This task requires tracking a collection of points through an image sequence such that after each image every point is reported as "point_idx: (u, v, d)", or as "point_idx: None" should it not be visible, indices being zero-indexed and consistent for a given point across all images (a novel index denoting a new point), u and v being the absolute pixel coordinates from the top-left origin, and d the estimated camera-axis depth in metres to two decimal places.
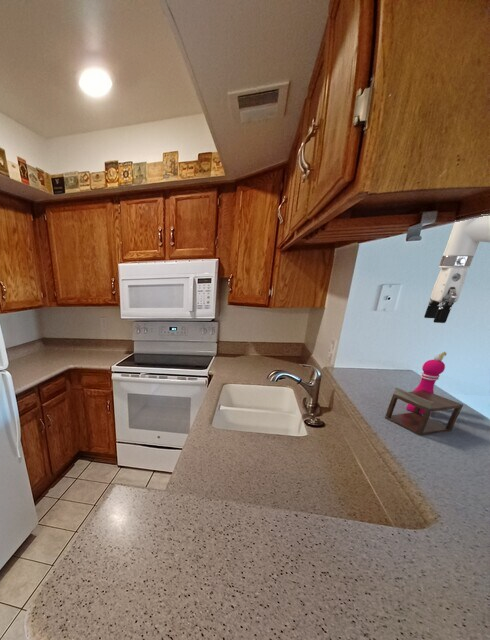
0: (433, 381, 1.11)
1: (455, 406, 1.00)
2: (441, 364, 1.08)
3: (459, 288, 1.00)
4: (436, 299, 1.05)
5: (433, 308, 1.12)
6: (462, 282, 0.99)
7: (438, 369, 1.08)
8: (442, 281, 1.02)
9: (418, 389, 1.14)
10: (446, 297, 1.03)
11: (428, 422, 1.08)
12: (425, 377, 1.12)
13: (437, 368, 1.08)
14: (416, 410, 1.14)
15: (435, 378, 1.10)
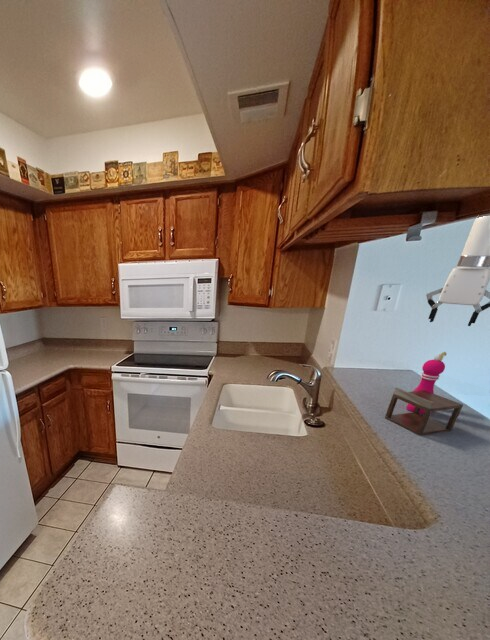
0: (433, 381, 1.11)
1: (455, 406, 1.00)
2: (441, 364, 1.08)
3: None
4: (466, 302, 0.99)
5: (436, 311, 1.05)
6: None
7: (438, 370, 1.08)
8: (476, 283, 0.96)
9: (418, 389, 1.14)
10: None
11: (428, 422, 1.08)
12: (425, 377, 1.12)
13: (437, 368, 1.08)
14: (416, 410, 1.14)
15: (435, 378, 1.10)
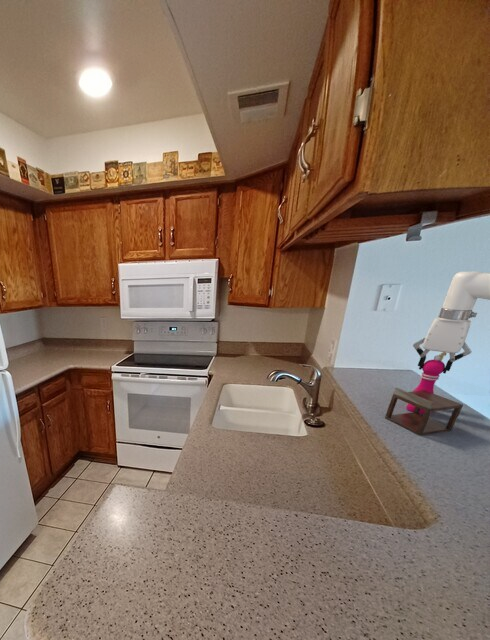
0: (433, 381, 1.11)
1: (455, 406, 1.00)
2: (441, 364, 1.08)
3: None
4: (447, 350, 1.05)
5: (425, 359, 1.12)
6: None
7: (438, 370, 1.08)
8: (456, 334, 1.02)
9: (418, 389, 1.14)
10: None
11: (428, 422, 1.08)
12: (425, 377, 1.12)
13: (437, 368, 1.08)
14: (416, 410, 1.14)
15: (435, 378, 1.10)
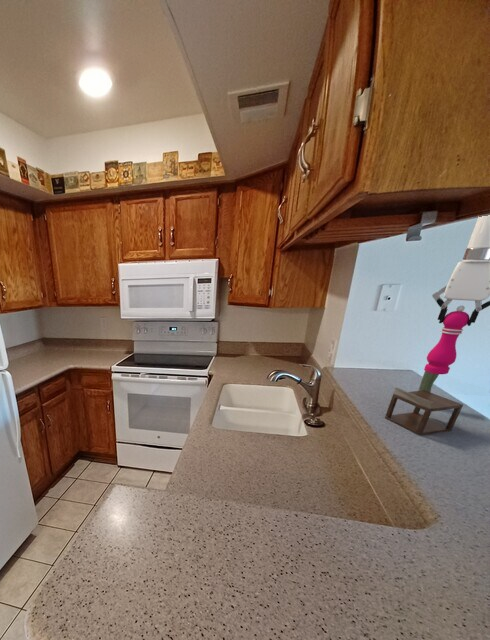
0: (455, 336, 0.98)
1: (455, 406, 1.00)
2: (465, 315, 0.95)
3: None
4: (473, 298, 0.92)
5: (446, 311, 0.99)
6: None
7: (462, 321, 0.95)
8: (483, 277, 0.89)
9: (438, 346, 1.01)
10: None
11: (428, 422, 1.08)
12: (446, 331, 0.99)
13: (460, 319, 0.95)
14: (416, 410, 1.14)
15: (458, 332, 0.97)
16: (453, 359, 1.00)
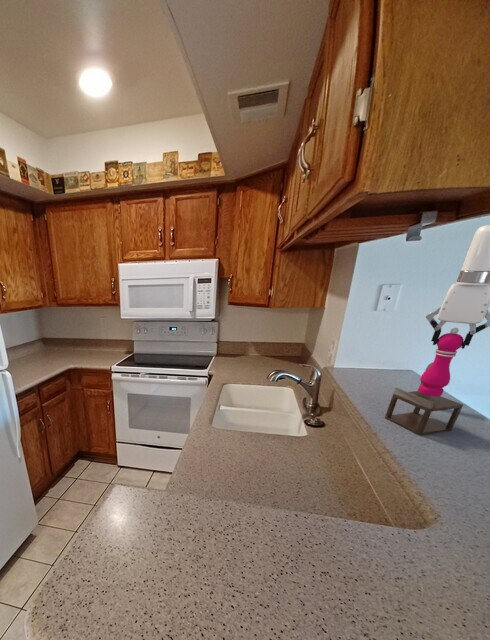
0: (449, 358, 0.96)
1: (455, 406, 1.00)
2: (459, 338, 0.93)
3: None
4: (467, 321, 0.90)
5: None
6: None
7: (456, 344, 0.93)
8: (478, 300, 0.87)
9: (432, 368, 0.99)
10: None
11: (428, 422, 1.08)
12: (440, 354, 0.97)
13: (455, 342, 0.93)
14: (416, 410, 1.14)
15: (452, 354, 0.95)
16: (447, 381, 0.98)
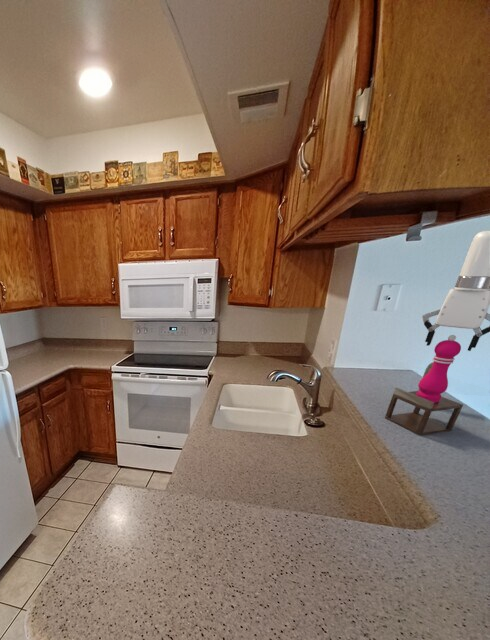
0: (447, 365, 0.97)
1: (455, 406, 1.00)
2: (457, 345, 0.94)
3: None
4: (465, 326, 0.91)
5: (433, 334, 0.98)
6: None
7: (454, 351, 0.94)
8: (476, 306, 0.88)
9: (429, 374, 1.00)
10: None
11: (428, 422, 1.08)
12: (438, 360, 0.97)
13: (452, 349, 0.94)
14: (416, 410, 1.14)
15: (449, 361, 0.96)
16: (445, 388, 0.99)
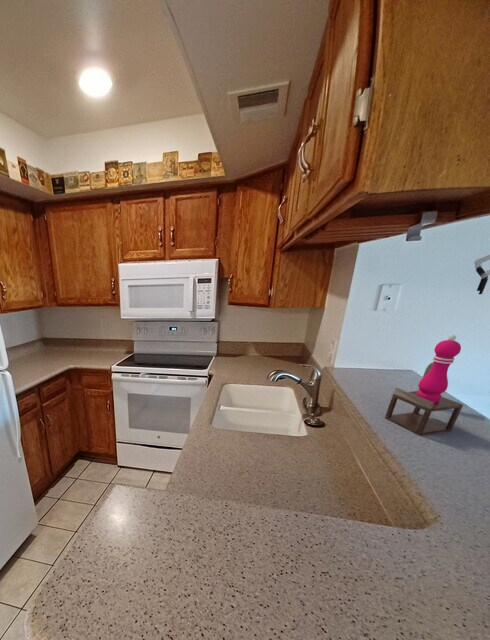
0: (447, 365, 0.97)
1: (455, 406, 1.00)
2: (457, 345, 0.94)
3: None
4: None
5: None
6: None
7: (454, 351, 0.94)
8: None
9: (429, 374, 1.00)
10: None
11: (428, 422, 1.08)
12: (438, 360, 0.97)
13: (452, 349, 0.94)
14: (416, 410, 1.14)
15: (449, 361, 0.96)
16: (445, 388, 0.99)
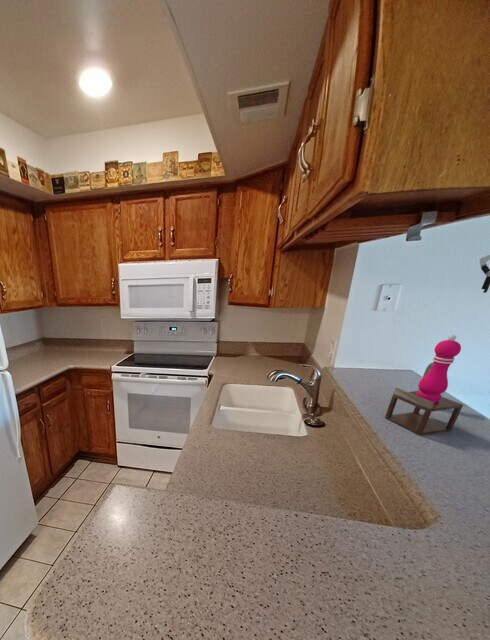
0: (447, 365, 0.97)
1: (455, 406, 1.00)
2: (457, 345, 0.94)
3: None
4: None
5: None
6: None
7: (454, 351, 0.94)
8: None
9: (429, 374, 1.00)
10: None
11: (428, 422, 1.08)
12: (438, 360, 0.97)
13: (452, 349, 0.94)
14: (416, 410, 1.14)
15: (449, 361, 0.96)
16: (445, 388, 0.99)
